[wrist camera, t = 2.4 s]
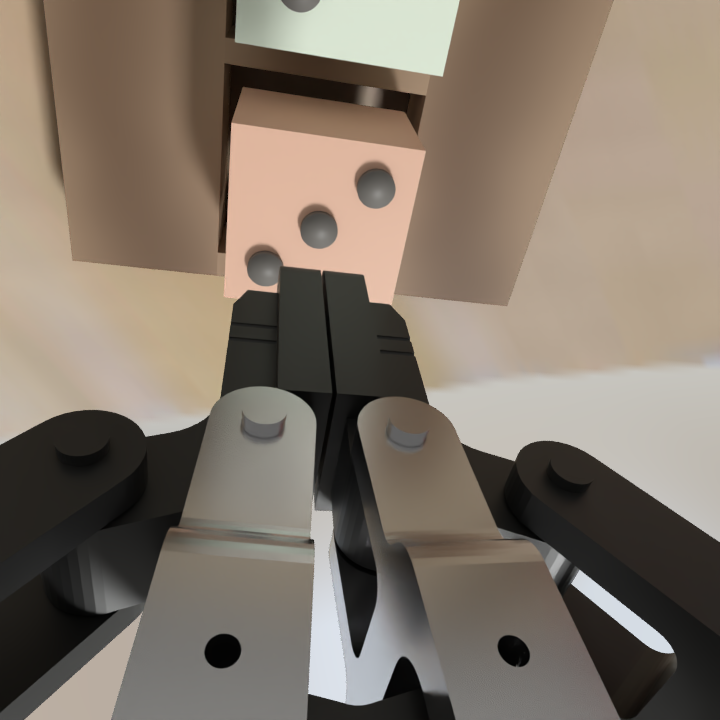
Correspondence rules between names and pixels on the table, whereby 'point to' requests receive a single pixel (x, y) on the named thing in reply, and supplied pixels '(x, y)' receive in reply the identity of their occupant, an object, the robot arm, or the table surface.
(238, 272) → the pink dotted block
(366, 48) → the pale green dotted block
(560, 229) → the table surface
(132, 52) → the socket board
